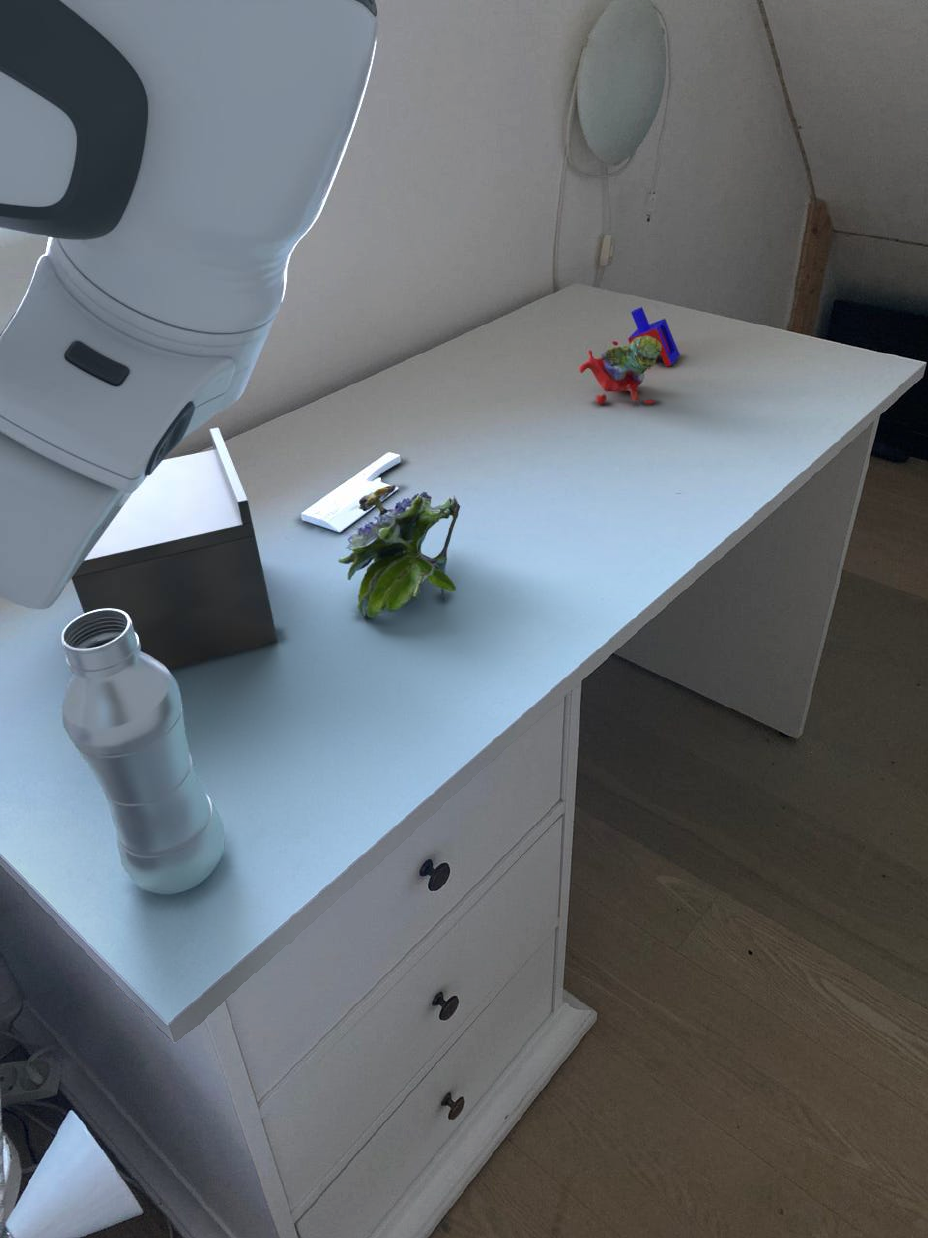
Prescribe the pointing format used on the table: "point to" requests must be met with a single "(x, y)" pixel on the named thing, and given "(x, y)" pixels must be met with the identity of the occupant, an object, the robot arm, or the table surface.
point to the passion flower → (398, 551)
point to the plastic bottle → (139, 754)
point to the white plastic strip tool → (349, 497)
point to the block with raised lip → (183, 563)
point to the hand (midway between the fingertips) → (88, 525)
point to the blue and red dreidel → (655, 335)
